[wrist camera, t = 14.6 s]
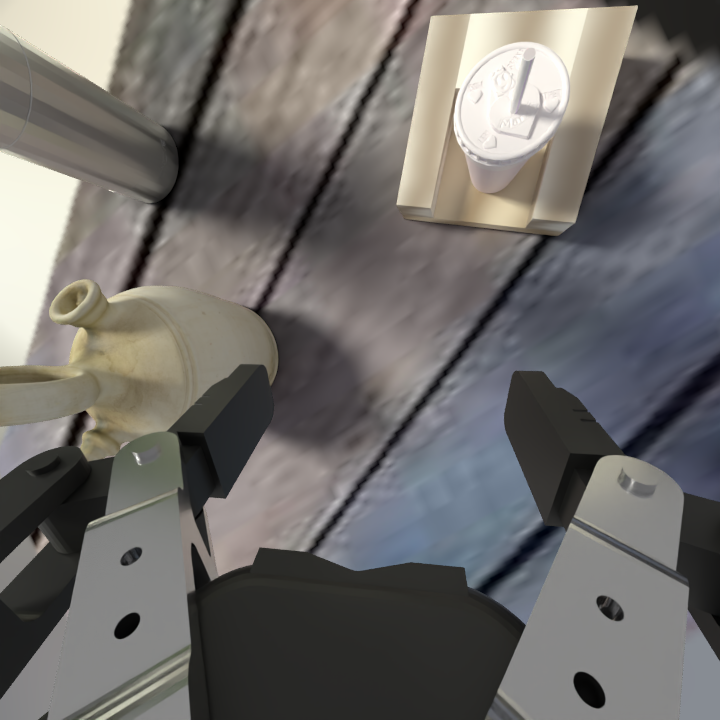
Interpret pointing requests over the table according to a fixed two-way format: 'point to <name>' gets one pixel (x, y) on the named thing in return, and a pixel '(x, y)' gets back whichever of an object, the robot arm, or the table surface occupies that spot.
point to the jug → (135, 361)
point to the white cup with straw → (509, 111)
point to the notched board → (546, 167)
